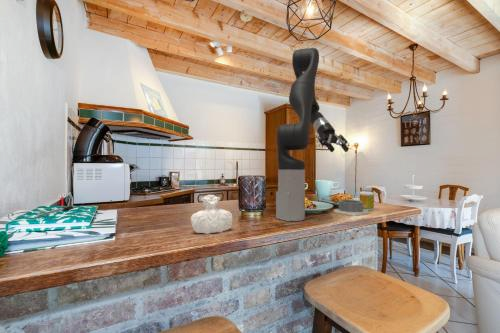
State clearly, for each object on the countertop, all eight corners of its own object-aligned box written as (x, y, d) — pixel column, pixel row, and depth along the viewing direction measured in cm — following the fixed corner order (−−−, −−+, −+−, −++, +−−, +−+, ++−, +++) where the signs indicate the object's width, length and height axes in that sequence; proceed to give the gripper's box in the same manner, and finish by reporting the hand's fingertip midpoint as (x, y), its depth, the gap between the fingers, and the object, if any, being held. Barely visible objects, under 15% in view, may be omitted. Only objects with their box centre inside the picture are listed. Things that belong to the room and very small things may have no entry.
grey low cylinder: (355, 216, 88) (355, 203, 88) (333, 212, 95) (333, 201, 95) (368, 213, 93) (368, 201, 93) (346, 209, 101) (346, 199, 101)
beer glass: (368, 211, 98) (368, 187, 98) (357, 209, 102) (356, 186, 102) (376, 210, 100) (376, 187, 100) (364, 208, 105) (364, 186, 105)
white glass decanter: (231, 236, 70) (224, 202, 76) (238, 224, 64) (230, 189, 71) (190, 241, 65) (186, 205, 72) (193, 229, 60) (189, 191, 66)
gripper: (315, 121, 114) (332, 144, 104) (338, 122, 120) (356, 144, 110) (308, 133, 119) (324, 156, 109) (331, 134, 125) (347, 156, 115)
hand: (340, 150), depth 110 cm, fingers open, 8 cm apart
